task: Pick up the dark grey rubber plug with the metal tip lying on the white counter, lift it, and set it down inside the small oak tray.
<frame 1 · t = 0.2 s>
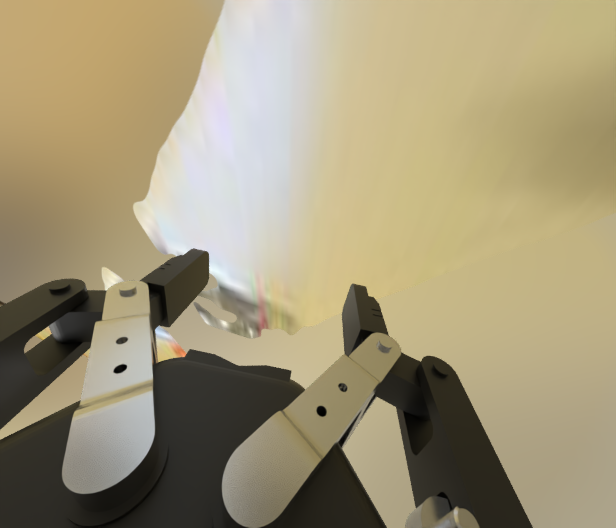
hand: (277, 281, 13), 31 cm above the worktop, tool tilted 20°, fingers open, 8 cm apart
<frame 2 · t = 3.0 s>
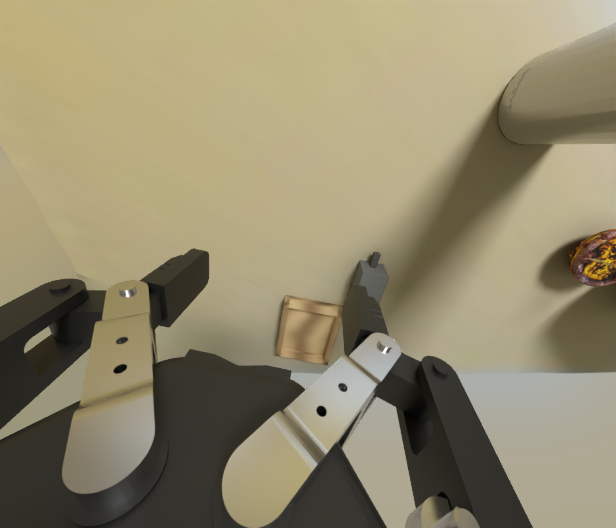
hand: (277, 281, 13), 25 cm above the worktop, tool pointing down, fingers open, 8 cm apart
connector: (366, 277, 40), on the worktop
brown patterned rounded piece: (586, 248, 35), on the worktop
tray: (308, 328, 47), on the worktop
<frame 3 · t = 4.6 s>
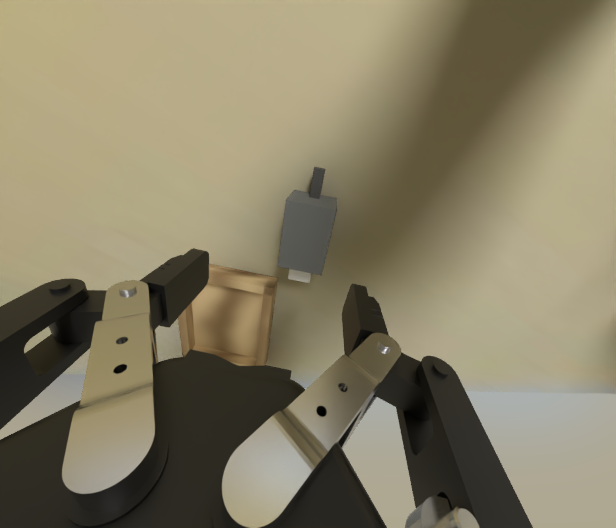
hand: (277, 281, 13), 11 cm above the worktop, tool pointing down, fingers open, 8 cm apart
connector: (310, 223, 23), on the worktop
tray: (229, 314, 30), on the worktop
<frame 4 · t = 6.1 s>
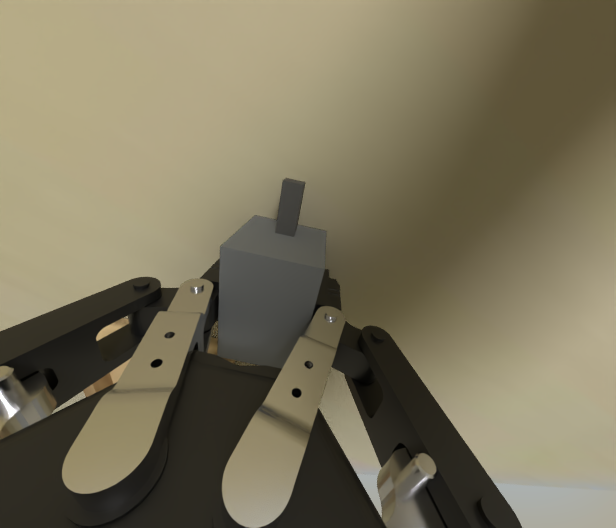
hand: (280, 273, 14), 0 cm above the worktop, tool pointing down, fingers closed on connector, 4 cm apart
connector: (282, 269, 14), on the worktop, touching gripper
tray: (170, 385, 20), on the worktop
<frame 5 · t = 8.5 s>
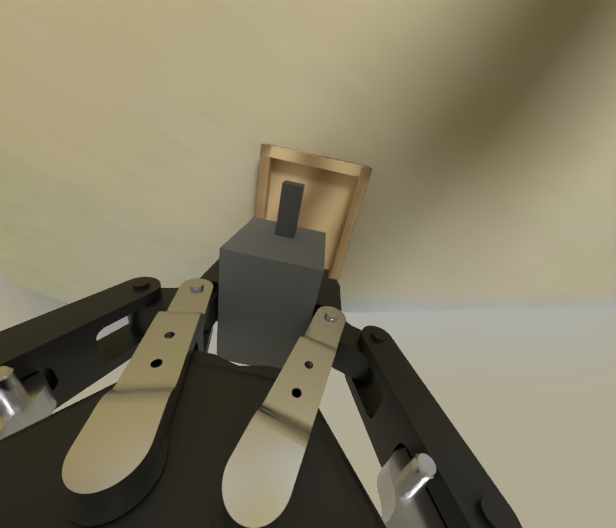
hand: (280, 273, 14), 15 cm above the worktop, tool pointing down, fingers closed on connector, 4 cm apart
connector: (282, 271, 14), point 15 cm above the worktop, touching gripper
tray: (305, 218, 28), on the worktop
when the fingers open (3 cm above the worktop, at t = 11.1 s): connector drops 1 cm, resting on tray.
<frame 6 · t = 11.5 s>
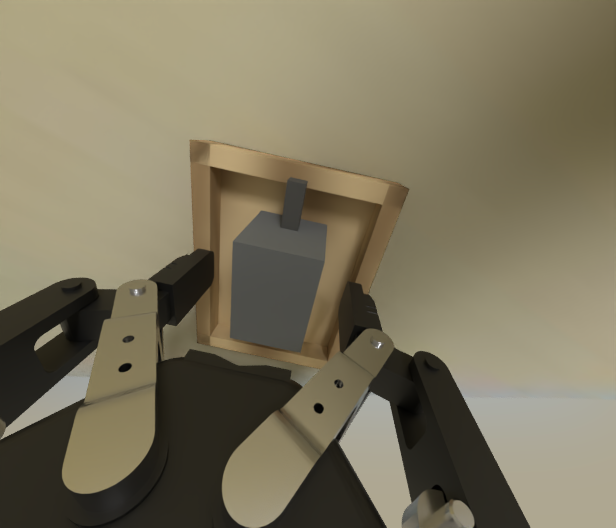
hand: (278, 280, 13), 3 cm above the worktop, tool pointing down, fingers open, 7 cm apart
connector: (287, 260, 15), point 1 cm above the worktop, touching tray
tray: (286, 266, 16), on the worktop
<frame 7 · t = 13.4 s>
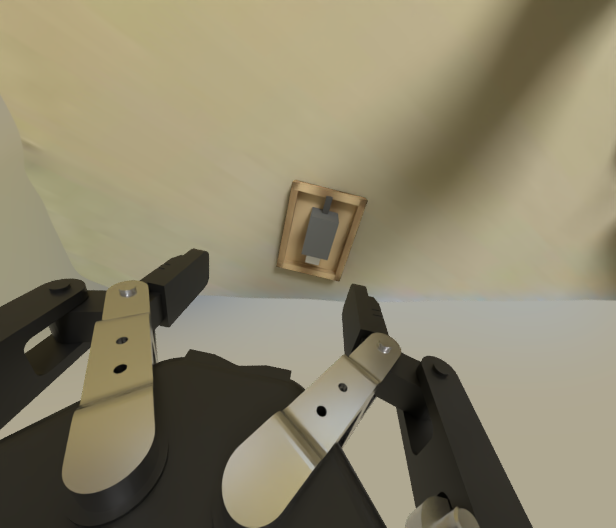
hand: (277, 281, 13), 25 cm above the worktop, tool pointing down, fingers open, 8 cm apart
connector: (320, 228, 37), point 1 cm above the worktop, touching tray
tray: (318, 231, 38), on the worktop
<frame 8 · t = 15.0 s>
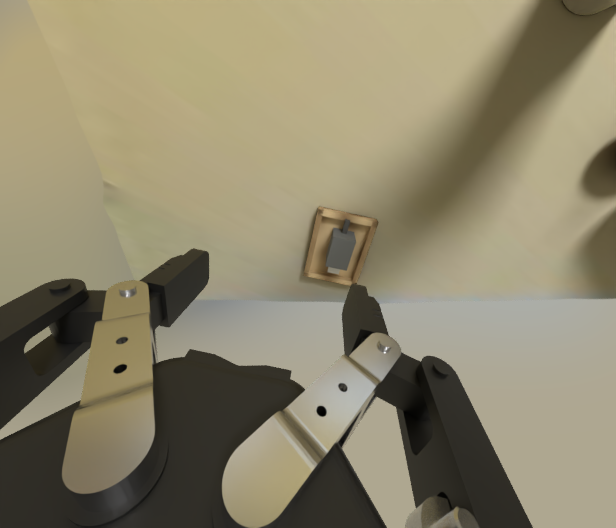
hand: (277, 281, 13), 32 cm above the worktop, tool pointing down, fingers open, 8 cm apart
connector: (339, 243, 45), point 1 cm above the worktop, touching tray
tray: (337, 246, 46), on the worktop
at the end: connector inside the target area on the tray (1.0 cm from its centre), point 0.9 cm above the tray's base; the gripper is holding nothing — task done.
